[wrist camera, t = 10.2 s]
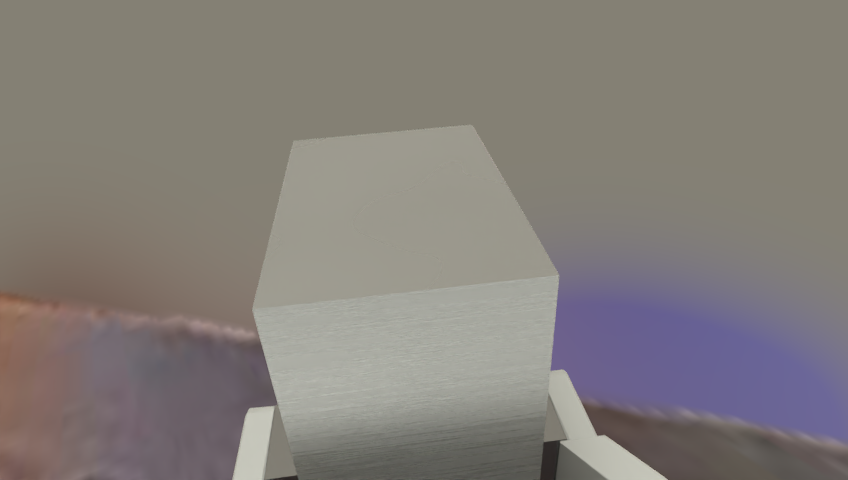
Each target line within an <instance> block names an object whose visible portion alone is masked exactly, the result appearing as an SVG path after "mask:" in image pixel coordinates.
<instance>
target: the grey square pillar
mask: <svg viewBox="0 0 848 480" xmlns="http://www.w3.org/2000/svg"><path fill="white" fill-rule="evenodd" d="M558 283H559V274H558V272H557V270H556V268H555V267H554V265H553V263H552V262H551V260H550V258H549V256H548V255H547V253H546V251H545V250H544V248H543V246H542V244H541V243H540V241H539V239H538V237H537V236H536V234H535V232H534V231H533V229H532V227H531V225H530V224H529V222H528V220H527V218H526V217H525V215H524V213H523V212H522V210H521V208H520V207H519V205H518V203H517V201H516V199H515V198H514V196H513V194H512V193H511V191H510V189H509V188H508V186H507V184H506V182H505V180H504V179H503V177H502V175H501V174H500V172H499V170H498V169H497V167H496V165H495V163H494V161H493V160H492V158H491V156H490V155H489V153H488V151H487V149H486V148H485V146H484V144H483V143H482V141H481V139H480V137H479V136H478V134H477V132H476V130H475V129H474V127H473V125H464V126H453V127H441V128H430V129H420V130H408V131H397V132H387V133H375V134H364V135H352V136H341V137H331V138H319V139H308V140H297V141H293V144H292V148H291V152H290V157H289V161H288V165H287V169H286V173H285V178H284V181H283V185H282V190H281V193H280V198H279V202H278V206H277V210H276V214H275V218H274V222H273V226H272V231H271V234H270V239H269V243H268V247H267V251H266V255H265V259H264V263H263V267H262V271H261V276H260V280H259V284H258V288H257V292H256V296H255V300H254V304H253V308H252V310H253V314H254V317H255V321H256V325H257V329H258V332H259V336H260V340H261V343H262V347H263V351H264V355H265V358H266V362H267V366H268V369H269V373H270V377H271V380H272V384H273V388H274V391H275V395H276V399H277V402H278V406H279V410H280V413H281V417H282V421H283V424H284V428H285V432H286V435H287V439H288V443H289V446H290V450H291V454H292V457H293V461H294V465H295V469H296V472H297V476H298V480H540V474H541V464H542V453H543V442H544V432H545V421H546V411H547V400H548V389H549V379H550V367H551V357H552V346H553V336H554V325H555V315H556V305H557V294H558Z"/></svg>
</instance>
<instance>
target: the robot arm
mask: <svg viewBox="0 0 848 480" xmlns="http://www.w3.org/2000/svg"><path fill="white" fill-rule="evenodd" d="M232 480H298V476H297V472H296V469H295V465H294V461H293V457H292V454H291V450H290V446H289V443H288V439H287V435H286V432H285V428H284V424H283V421H282V417H281V413H280V410H279V406H278V405H277V406H268V407H258V408H250V409H249V411H248V412H247V414H246V416H245V421H244V426H243V431H242V436H241V440H240V445H239V450H238V455H237V460H236V465H235V469H234V474H233V479H232ZM540 480H668V479H666V478H665V477H663V476H662V475H660V474H659V473H658V472H656V471H655V470H653V469H652V468H651V467H649V466H648V465H646V464H645V463H643V462H642V461H641V460H639V459H638V458H636V457H635V456H634V455H632V454H631V453H629V452H628V451H627V450H625V449H624V448H622V447H621V446H619V445H618V444H617V443H615V442H614V441H612V440H611V439H610V438H608V437H607V436H605V435H604V436H597V434H596V432H595V430H594V428H593V426H592V424H591V422H590V420H589V418H588V416H587V414H586V412H585V409H584V407H583V405H582V403H581V401H580V399H579V397H578V395H577V393H576V391H575V389H574V387H573V385H572V383H571V380H570V379H569V376H568V374H567V373H566V372H565V371H564V370H556V371H550V379H549V389H548V400H547V411H546V421H545V432H544V442H543V453H542V464H541V474H540Z"/></svg>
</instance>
